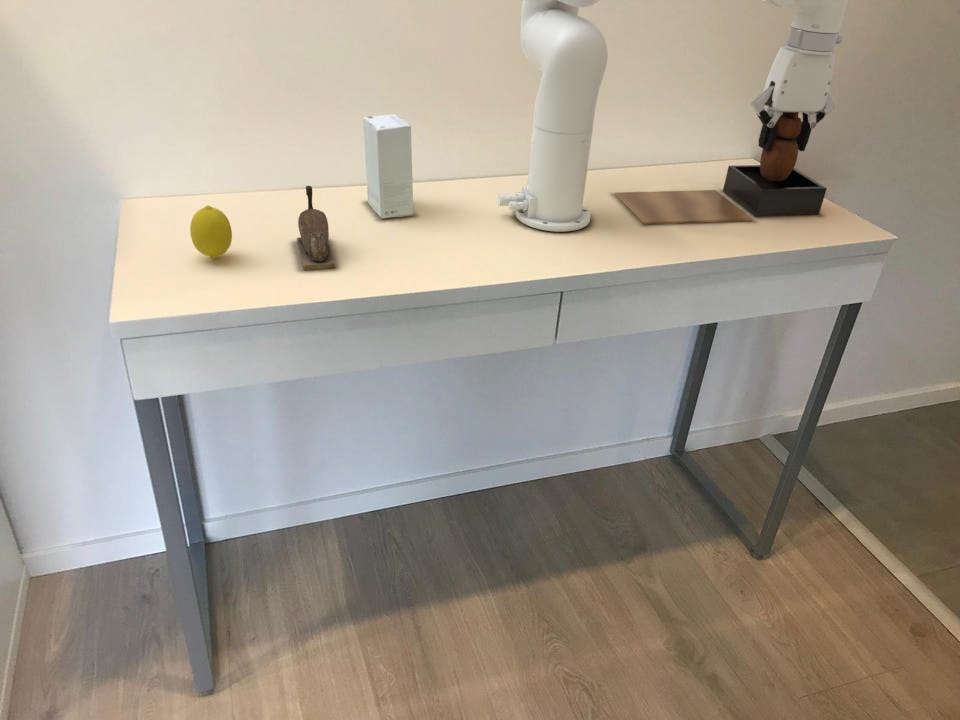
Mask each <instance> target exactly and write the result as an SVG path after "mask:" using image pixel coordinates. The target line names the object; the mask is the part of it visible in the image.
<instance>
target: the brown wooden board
mask: <svg viewBox="0 0 960 720" xmlns="http://www.w3.org/2000/svg"><path fill="white" fill-rule="evenodd" d="M615 196H616V197H617V198H618V199H619V200H620V201H621V202H622V203H623V204H624V205H625V206H626V207H627V208H628V209H629V210H630V211H631V212H632V213H633V214H634V215H635V217H636V218H637V219H638V220H639V221H640V222H641V223H642V224H643V225H666V224H667V225H668V224H669V225H670V224H699V223H700V224H701V223H727V222H732V223H733V222H752V219H753V218H752V217H750V216H749V215H748V214H746V213H745V212H744V211H743V210H741V209H740V208H739V207H738V206H736V205H735V204H734V203H732V202H731V201H730V200H729V199H728V198H726V197H725V196H724V195H723V194H721V193H720V192H719V191H718V190H716V189H709V190H707V189H706V190H703V189H702V190H666V191H665V190H663V191H623V192H621V191H620V192H615Z"/></svg>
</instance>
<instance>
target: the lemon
mask: <svg viewBox="0 0 960 720" xmlns="http://www.w3.org/2000/svg"><path fill="white" fill-rule="evenodd" d="M189 227H190V228H189V231H190V232H189V233H190V238H191V241H192V244H193V247H195V249H196V250H197V251H198V252H199V253H201V255H203V256H206V257H209V258H210V259H212V260H217V259H218V258H219V256H222V255H223V254H225V253H226V252H227V251H228V250H229V249H230V247H231V245H232V240H233V233H232V231H233V230H232V227H231V223H230V221H229V218H228V217H227V216H226V214H225V213H224V212H223V211H222V210H220V209H219V208H216V207H212V206H211V205H205V206H204V207H202V208H200V209H198V210H197V211H196V212H195V213H194V214H193V216H192V218H191V221H190V226H189Z"/></svg>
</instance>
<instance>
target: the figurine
mask: <svg viewBox="0 0 960 720" xmlns="http://www.w3.org/2000/svg"><path fill="white" fill-rule="evenodd" d="M305 195H306V196H307V209H305V210H303V211H301V212H300V213H299V216H298V219H297V220H298V221H297V222H298V223H297V225H298V232H299V236H300V237H297V238H296V244H297V248H298V252H299V257H300V260H301V265H302V269H303V271H310V270H324V269H334V268H336V264H335V263H336V262H335V260H334V256H333V253H332V250H331V247H330V244H329V238H330V237H329V236H330V232H329V231H330V229H329V221H328V218H327V216H326V213H325V212H324V211H322V210H320V209H316V208H314V206H313V186H312V185H306V186H305Z"/></svg>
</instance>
